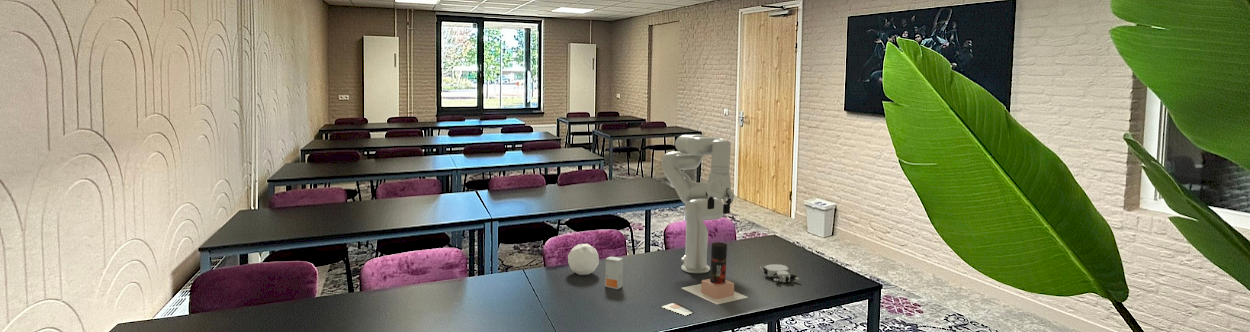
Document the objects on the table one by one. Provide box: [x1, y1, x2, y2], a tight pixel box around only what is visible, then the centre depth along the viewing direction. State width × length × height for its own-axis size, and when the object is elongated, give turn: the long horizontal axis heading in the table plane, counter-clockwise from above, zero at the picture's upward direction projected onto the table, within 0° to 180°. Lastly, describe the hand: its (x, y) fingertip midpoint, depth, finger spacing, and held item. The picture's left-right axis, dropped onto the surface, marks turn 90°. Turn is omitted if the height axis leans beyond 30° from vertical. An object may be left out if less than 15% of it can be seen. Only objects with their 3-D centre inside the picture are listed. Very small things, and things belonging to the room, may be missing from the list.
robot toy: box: [759, 264, 800, 283], centre depth 309 cm, size 12×4×15 cm
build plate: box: [681, 283, 749, 305], centre depth 286 cm, size 22×16×1 cm
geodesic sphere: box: [567, 243, 600, 276], centre depth 308 cm, size 14×14×14 cm
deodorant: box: [709, 242, 728, 284], centre depth 283 cm, size 6×6×15 cm
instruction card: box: [661, 301, 696, 317], centre depth 270 cm, size 12×9×1 cm
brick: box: [700, 278, 735, 299], centre depth 284 cm, size 9×9×5 cm
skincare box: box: [604, 256, 624, 290], centre depth 293 cm, size 6×4×12 cm
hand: (718, 211), depth 298 cm, fingers open, 9 cm apart
